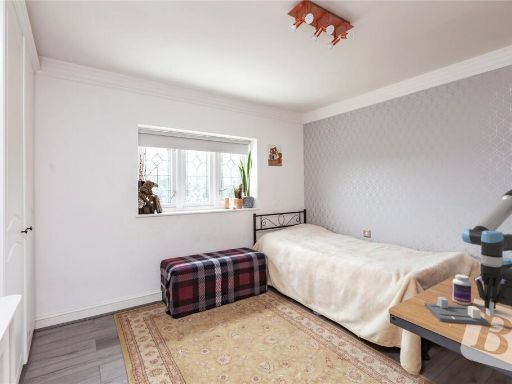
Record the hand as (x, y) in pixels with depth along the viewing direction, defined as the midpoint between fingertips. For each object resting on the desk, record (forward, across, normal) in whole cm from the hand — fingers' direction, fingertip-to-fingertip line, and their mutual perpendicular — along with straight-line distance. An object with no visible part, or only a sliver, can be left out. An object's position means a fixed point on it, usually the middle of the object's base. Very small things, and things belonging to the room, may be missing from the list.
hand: (489, 315), depth 123 cm
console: (+3, +12, -4) cm, 14 cm away
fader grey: (+1, +15, -9) cm, 18 cm away
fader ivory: (+1, +6, 0) cm, 7 cm away
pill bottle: (+3, +1, -21) cm, 21 cm away
